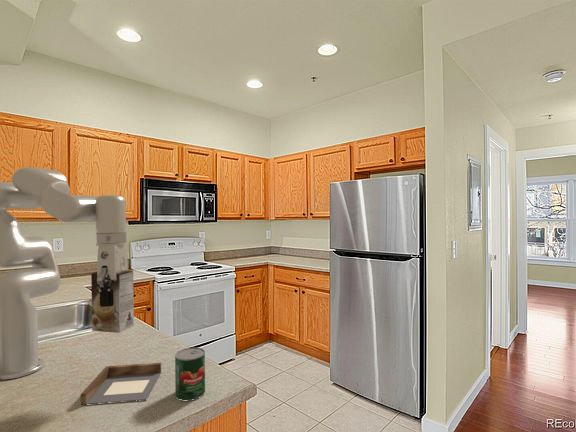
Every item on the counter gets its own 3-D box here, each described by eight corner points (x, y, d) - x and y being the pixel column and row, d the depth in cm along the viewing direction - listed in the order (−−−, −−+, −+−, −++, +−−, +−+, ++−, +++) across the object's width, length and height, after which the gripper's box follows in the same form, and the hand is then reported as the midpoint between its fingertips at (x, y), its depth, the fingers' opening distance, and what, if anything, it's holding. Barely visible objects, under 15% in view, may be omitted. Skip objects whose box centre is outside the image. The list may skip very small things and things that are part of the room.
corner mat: (80, 405, 85) (80, 403, 85) (106, 375, 101) (106, 374, 101) (146, 400, 88) (146, 398, 88) (161, 372, 103) (161, 370, 103)
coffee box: (90, 331, 91) (89, 273, 91) (107, 324, 97) (106, 269, 98) (119, 333, 89) (118, 273, 89) (135, 325, 96) (134, 269, 96)
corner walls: (80, 405, 85) (80, 394, 85) (106, 375, 101) (106, 366, 101) (146, 400, 88) (146, 389, 88) (161, 372, 103) (161, 362, 103)
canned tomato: (189, 404, 86) (188, 361, 85) (168, 396, 90) (168, 355, 90) (211, 390, 92) (211, 351, 92) (191, 383, 96) (191, 345, 96)
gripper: (113, 241, 85) (114, 309, 85) (135, 237, 103) (137, 294, 103) (82, 242, 84) (83, 311, 84) (110, 238, 102) (111, 295, 102)
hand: (113, 301), depth 93 cm, fingers closed on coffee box, 7 cm apart
